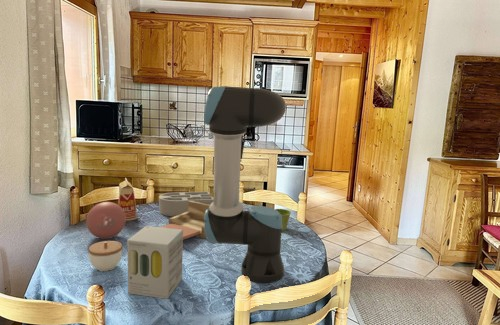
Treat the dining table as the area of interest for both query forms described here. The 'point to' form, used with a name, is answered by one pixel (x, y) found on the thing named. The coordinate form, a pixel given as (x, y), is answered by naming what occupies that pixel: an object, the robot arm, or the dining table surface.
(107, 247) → the lidded jar
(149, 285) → the supplement box
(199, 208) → the tray
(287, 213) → the plant pot
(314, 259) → the dining table surface
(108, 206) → the balloon
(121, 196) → the milk carton
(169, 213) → the grey compartment organizer
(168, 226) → the panel
